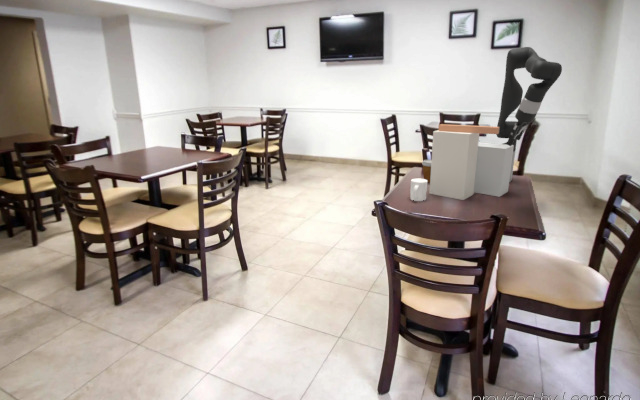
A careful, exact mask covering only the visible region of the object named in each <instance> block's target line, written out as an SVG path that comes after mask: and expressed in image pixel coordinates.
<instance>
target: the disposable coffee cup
mask: <svg viewBox="0 0 640 400" xmlns="http://www.w3.org/2000/svg"><path fill="white" fill-rule="evenodd" d="M431 160H432V159H423V161H422V162H421V164H422V173H423V179H426V180H427V181H428V182H427V184H430V176H431Z"/></svg>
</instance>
